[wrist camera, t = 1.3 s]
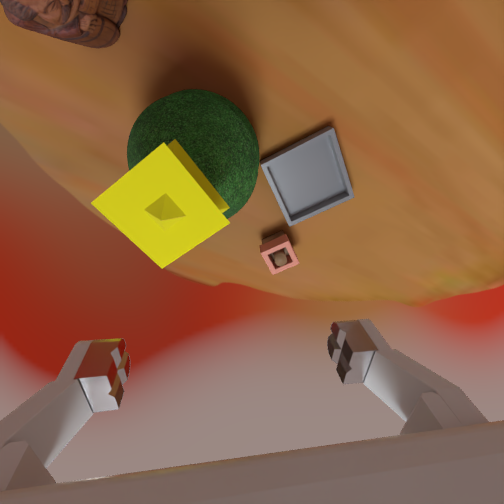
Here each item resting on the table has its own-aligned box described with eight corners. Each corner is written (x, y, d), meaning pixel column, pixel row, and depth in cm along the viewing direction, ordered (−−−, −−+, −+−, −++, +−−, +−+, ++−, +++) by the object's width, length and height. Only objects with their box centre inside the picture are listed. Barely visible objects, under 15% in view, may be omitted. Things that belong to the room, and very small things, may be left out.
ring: (286, 233, 56) (288, 240, 53) (296, 255, 58) (299, 263, 56) (259, 245, 57) (260, 253, 54) (271, 266, 60) (272, 274, 57)
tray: (328, 126, 48) (333, 128, 46) (348, 192, 55) (354, 197, 52) (259, 161, 51) (260, 165, 48) (286, 220, 57) (289, 226, 55)
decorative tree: (276, 163, 51) (317, 237, 25) (198, 218, 56) (166, 327, 30) (212, 61, 43) (175, 17, 17) (126, 137, 48) (-4, 192, 22)
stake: (282, 230, 58) (287, 246, 52) (291, 248, 61) (297, 265, 55) (261, 239, 59) (264, 256, 53) (270, 256, 62) (274, 274, 56)
